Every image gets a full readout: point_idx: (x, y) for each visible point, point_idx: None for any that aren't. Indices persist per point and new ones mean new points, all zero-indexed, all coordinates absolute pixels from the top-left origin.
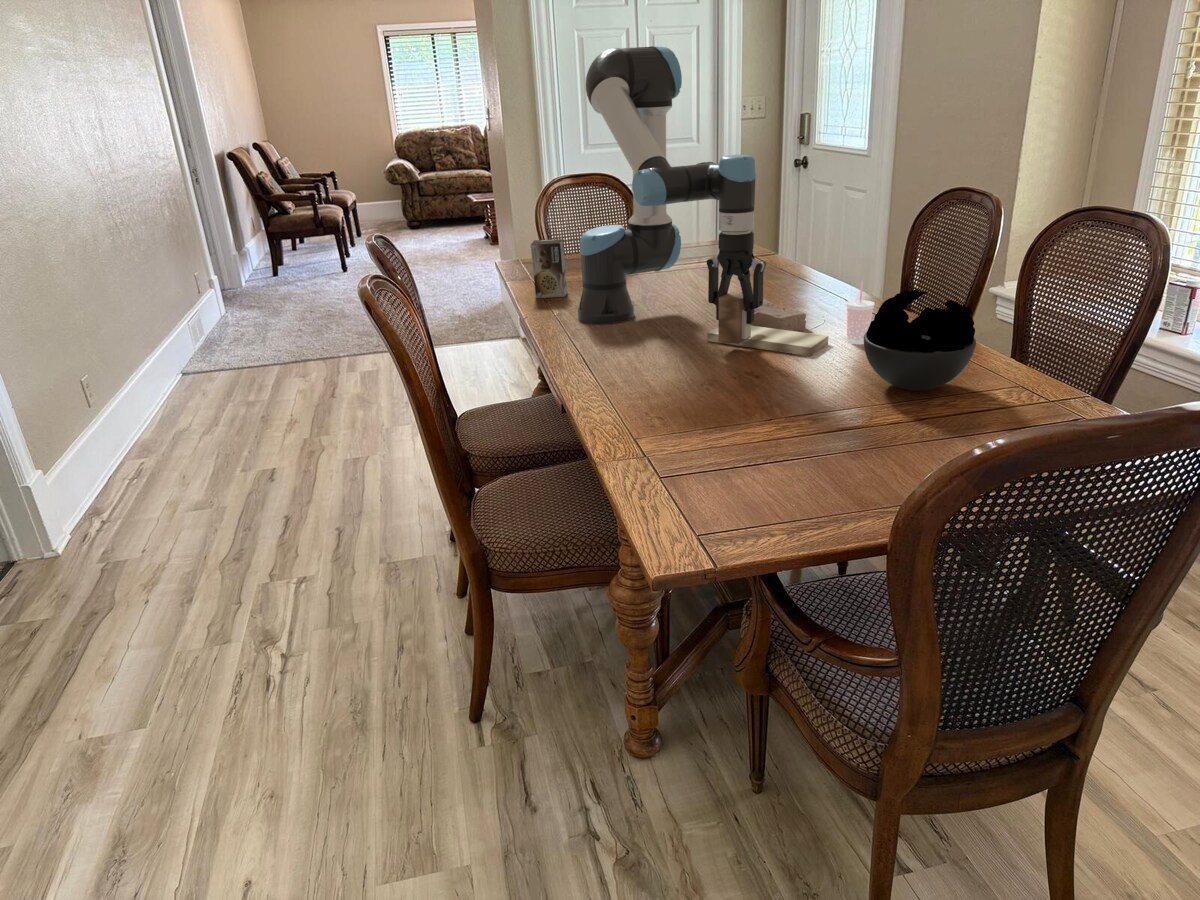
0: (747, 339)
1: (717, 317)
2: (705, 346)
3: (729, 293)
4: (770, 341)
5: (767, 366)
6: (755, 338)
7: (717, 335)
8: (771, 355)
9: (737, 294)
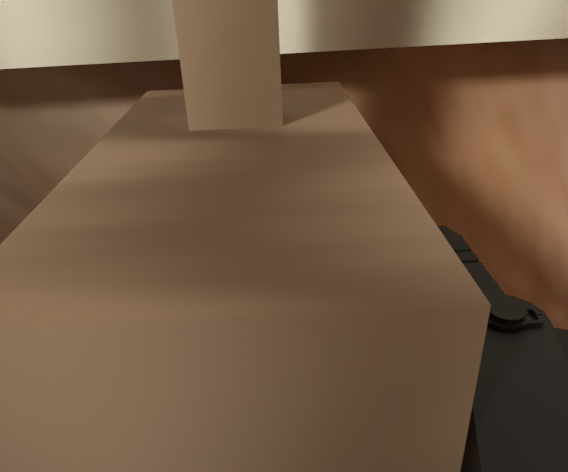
0: (293, 50)
1: None
2: (34, 181)
3: (3, 460)
4: (504, 31)
5: (550, 303)
6: (354, 15)
7: (4, 66)
8: (519, 130)
9: (213, 459)
